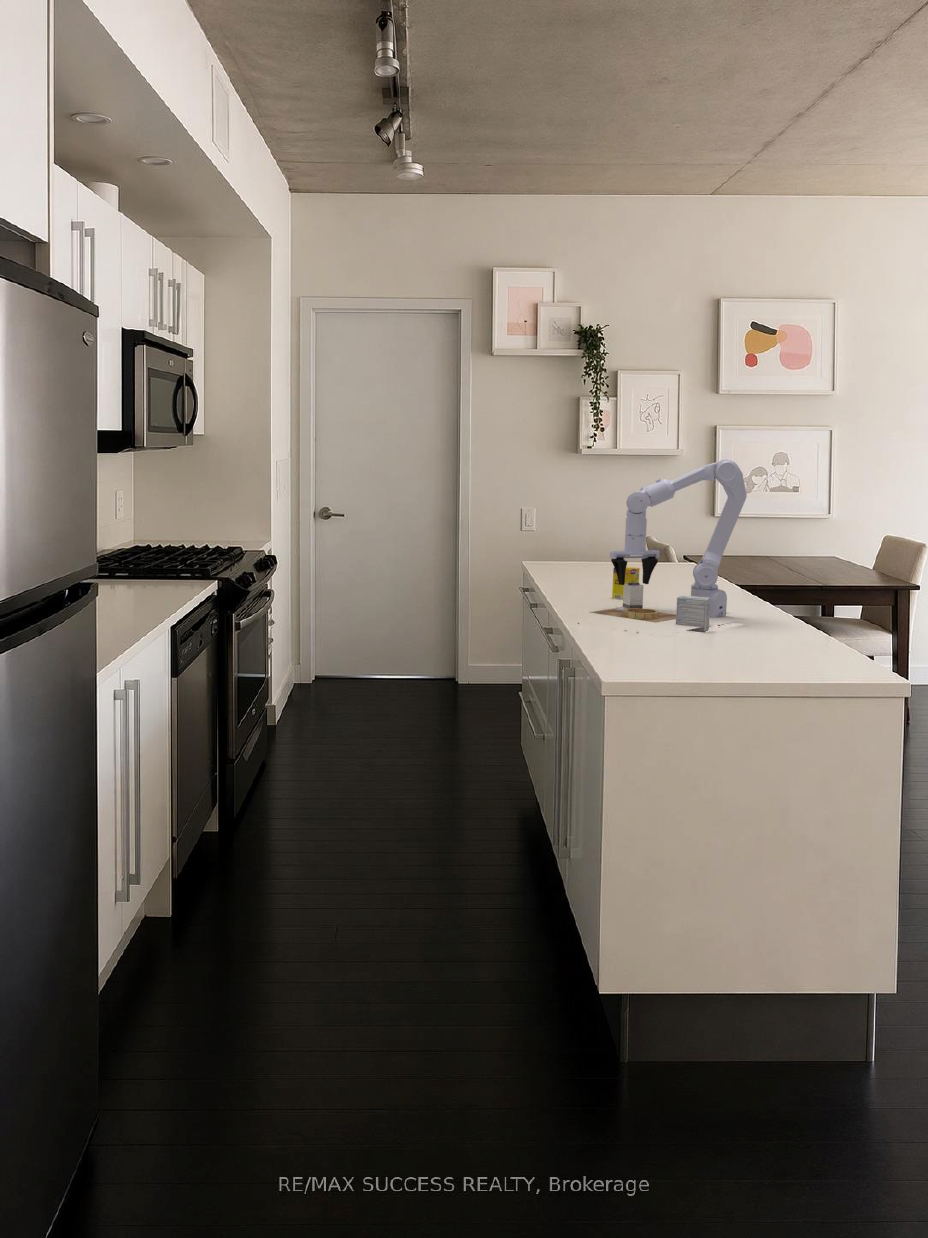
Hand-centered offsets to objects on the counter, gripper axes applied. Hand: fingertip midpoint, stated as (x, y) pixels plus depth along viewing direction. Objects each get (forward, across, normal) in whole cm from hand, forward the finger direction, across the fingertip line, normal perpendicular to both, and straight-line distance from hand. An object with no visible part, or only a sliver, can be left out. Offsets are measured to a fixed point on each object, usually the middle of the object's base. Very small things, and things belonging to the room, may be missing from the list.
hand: (633, 584), depth 316 cm
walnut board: (+9, -2, -6) cm, 11 cm away
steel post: (+7, 0, 0) cm, 7 cm away
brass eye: (+8, -3, -10) cm, 13 cm away
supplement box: (+9, +10, +23) cm, 27 cm away
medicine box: (+9, +4, -25) cm, 27 cm away
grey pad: (+8, 0, 0) cm, 8 cm away
